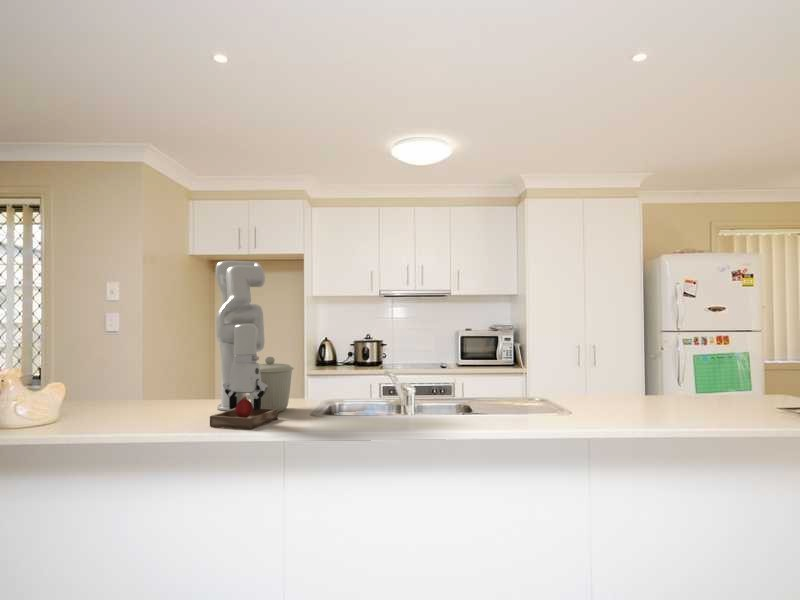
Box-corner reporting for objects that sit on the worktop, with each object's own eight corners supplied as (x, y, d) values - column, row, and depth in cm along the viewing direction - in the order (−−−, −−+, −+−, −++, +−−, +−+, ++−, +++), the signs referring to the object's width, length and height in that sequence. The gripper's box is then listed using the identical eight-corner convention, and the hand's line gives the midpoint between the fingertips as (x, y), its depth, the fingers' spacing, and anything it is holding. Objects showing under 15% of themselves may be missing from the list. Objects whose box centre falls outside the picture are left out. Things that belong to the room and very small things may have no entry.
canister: (242, 409, 183) (243, 356, 184) (288, 405, 191) (288, 354, 191) (248, 417, 167) (248, 359, 167) (298, 413, 174) (298, 357, 175)
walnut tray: (239, 416, 169) (239, 407, 169) (277, 419, 164) (277, 409, 164) (209, 426, 153) (209, 416, 153) (250, 429, 149) (251, 418, 149)
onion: (238, 422, 155) (238, 398, 155) (233, 419, 159) (233, 396, 160) (255, 419, 158) (255, 396, 158) (249, 417, 163) (249, 394, 163)
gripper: (272, 359, 160) (272, 408, 160) (231, 358, 165) (230, 405, 165) (260, 361, 153) (260, 412, 153) (217, 360, 158) (216, 410, 158)
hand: (245, 409), depth 159 cm, fingers open, 9 cm apart
